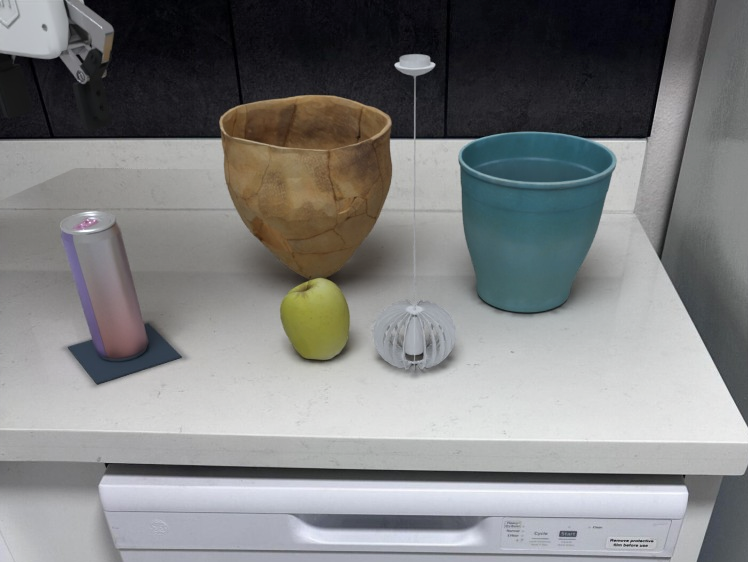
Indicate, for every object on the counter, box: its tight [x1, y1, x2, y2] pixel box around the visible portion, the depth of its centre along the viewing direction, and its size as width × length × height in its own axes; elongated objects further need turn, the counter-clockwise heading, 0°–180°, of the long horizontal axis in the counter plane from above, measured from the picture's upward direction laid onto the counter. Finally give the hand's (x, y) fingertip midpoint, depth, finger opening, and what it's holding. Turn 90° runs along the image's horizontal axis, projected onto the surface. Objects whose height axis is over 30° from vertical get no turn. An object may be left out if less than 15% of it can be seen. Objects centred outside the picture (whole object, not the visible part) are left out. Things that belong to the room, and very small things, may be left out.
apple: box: [279, 276, 351, 361], centre depth 88 cm, size 8×8×10 cm
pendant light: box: [372, 53, 457, 371], centre depth 80 cm, size 9×9×30 cm
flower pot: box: [457, 131, 618, 313], centre depth 96 cm, size 18×18×17 cm
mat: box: [67, 322, 183, 385], centre depth 92 cm, size 10×10×1 cm
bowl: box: [218, 94, 393, 281], centre depth 99 cm, size 21×20×20 cm
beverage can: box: [59, 210, 148, 362], centre depth 87 cm, size 6×6×15 cm
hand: (57, 120), depth 75 cm, fingers open, 9 cm apart
